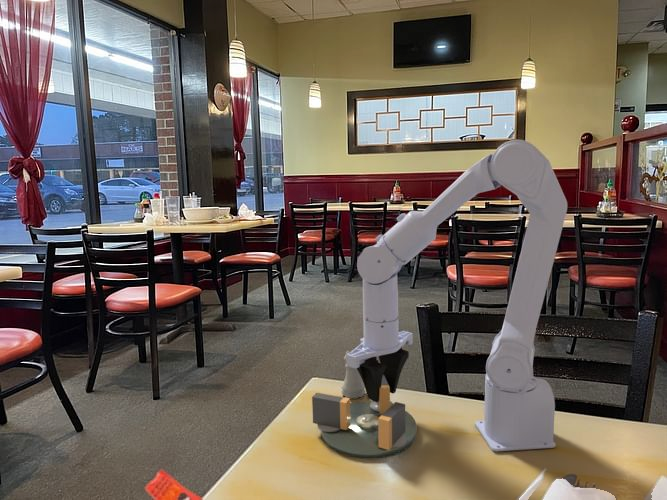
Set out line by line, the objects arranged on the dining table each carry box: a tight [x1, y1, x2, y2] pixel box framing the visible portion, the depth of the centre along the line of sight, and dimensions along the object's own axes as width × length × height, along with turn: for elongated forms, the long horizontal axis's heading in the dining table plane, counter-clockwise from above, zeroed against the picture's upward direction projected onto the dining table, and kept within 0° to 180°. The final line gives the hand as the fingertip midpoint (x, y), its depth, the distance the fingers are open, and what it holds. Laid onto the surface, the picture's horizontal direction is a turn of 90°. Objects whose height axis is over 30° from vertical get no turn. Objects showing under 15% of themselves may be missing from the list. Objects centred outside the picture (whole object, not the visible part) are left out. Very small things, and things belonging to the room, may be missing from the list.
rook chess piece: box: [340, 349, 366, 400], centre depth 91 cm, size 4×4×8 cm
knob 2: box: [378, 401, 407, 450], centre depth 73 cm, size 6×4×5 cm
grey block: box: [370, 375, 394, 414], centre depth 83 cm, size 6×4×5 cm
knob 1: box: [311, 392, 351, 432], centre depth 77 cm, size 6×4×5 cm
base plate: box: [320, 400, 417, 460], centre depth 78 cm, size 15×15×2 cm
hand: (381, 395), depth 83 cm, fingers closed on grey block, 3 cm apart
